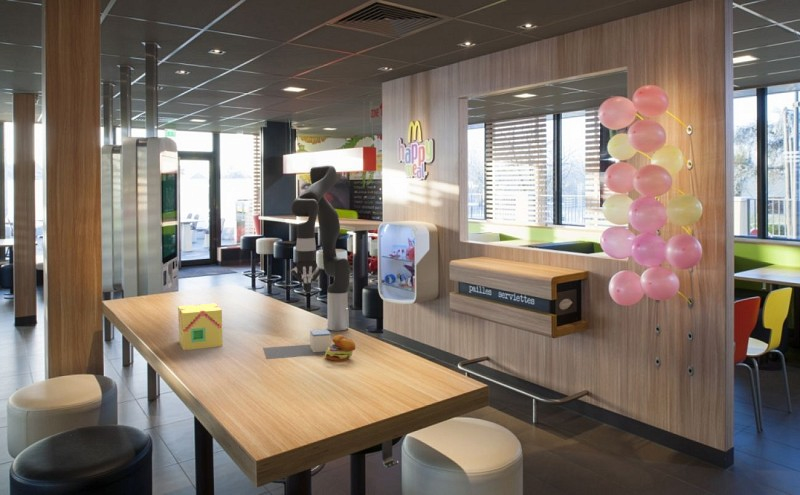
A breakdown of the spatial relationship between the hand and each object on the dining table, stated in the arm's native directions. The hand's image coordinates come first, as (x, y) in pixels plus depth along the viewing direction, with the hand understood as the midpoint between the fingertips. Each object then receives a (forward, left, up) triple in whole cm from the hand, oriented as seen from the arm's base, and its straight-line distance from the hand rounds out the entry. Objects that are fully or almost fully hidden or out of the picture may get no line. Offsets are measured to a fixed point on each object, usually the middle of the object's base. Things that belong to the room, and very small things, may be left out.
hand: (307, 291), depth 234 cm
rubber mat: (+4, +4, -23) cm, 24 cm away
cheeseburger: (-10, +17, -24) cm, 31 cm away
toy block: (+41, -19, -24) cm, 51 cm away
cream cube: (-5, +4, -16) cm, 17 cm away
